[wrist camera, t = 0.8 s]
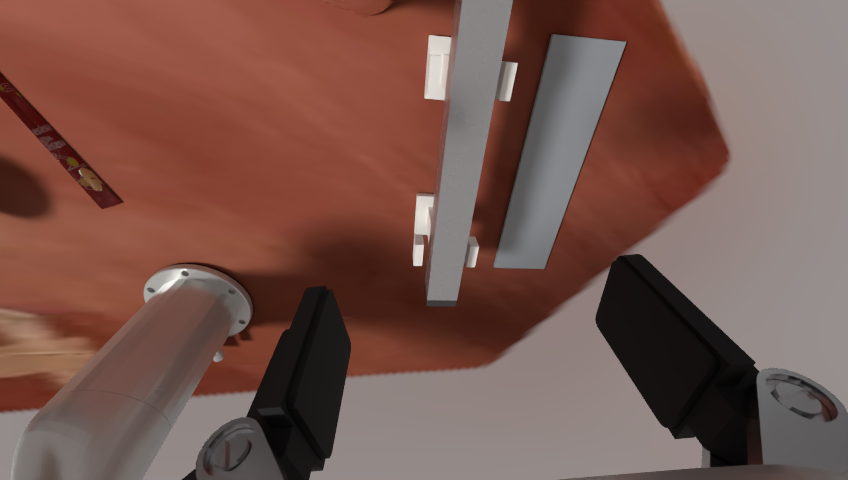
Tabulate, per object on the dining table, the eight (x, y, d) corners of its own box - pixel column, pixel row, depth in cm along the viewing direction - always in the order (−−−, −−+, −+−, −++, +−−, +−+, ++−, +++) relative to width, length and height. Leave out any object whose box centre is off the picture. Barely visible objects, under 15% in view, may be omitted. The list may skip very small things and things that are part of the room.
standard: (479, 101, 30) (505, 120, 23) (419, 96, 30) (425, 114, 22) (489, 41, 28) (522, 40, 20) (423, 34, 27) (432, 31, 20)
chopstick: (-156, -105, 21) (-178, -111, 20) (123, 200, 34) (117, 204, 33) (-177, -94, 21) (-200, -99, 20) (108, 205, 34) (101, 209, 33)
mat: (543, 267, 42) (544, 268, 42) (493, 265, 41) (494, 267, 41) (623, 42, 28) (626, 41, 28) (551, 34, 28) (553, 34, 27)
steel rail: (451, 286, 34) (455, 306, 31) (424, 286, 33) (426, 306, 31) (502, -13, 20) (516, -21, 18) (457, -18, 20) (465, -27, 17)
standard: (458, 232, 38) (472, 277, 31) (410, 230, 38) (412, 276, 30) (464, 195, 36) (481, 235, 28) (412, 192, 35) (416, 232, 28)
